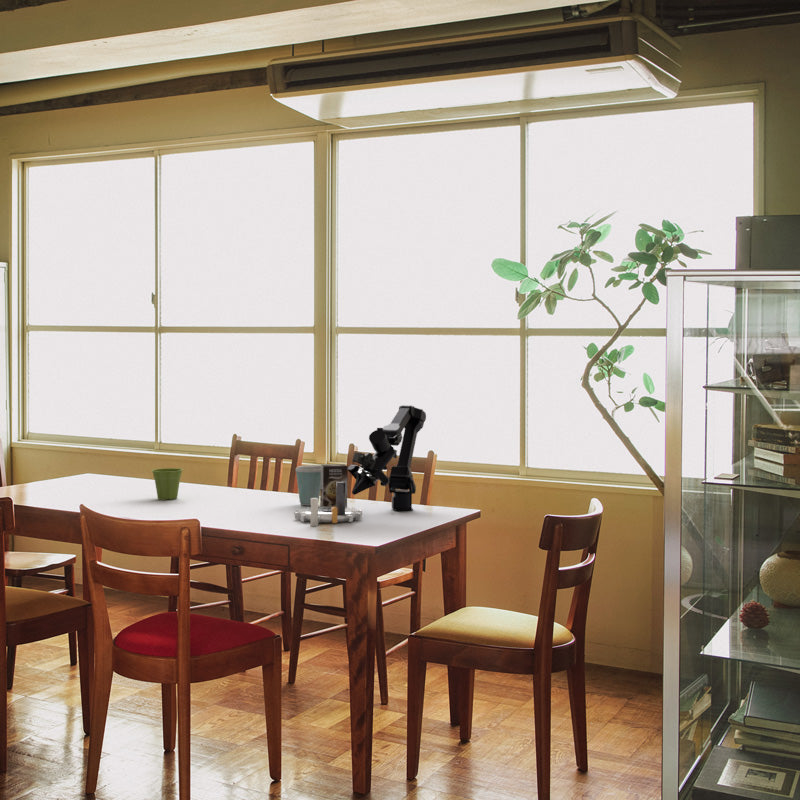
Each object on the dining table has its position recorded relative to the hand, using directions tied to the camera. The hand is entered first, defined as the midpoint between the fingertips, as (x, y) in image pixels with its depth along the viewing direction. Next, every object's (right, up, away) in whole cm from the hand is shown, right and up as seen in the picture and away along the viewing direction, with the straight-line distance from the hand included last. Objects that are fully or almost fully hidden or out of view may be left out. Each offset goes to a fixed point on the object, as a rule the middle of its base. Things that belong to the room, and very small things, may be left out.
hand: (353, 493), depth 329 cm
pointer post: (-12, -10, -9) cm, 18 cm away
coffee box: (-8, -8, +25) cm, 27 cm away
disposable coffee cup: (-18, -8, +34) cm, 39 cm away
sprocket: (-9, -9, +4) cm, 13 cm away
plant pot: (-74, -7, +46) cm, 87 cm away
